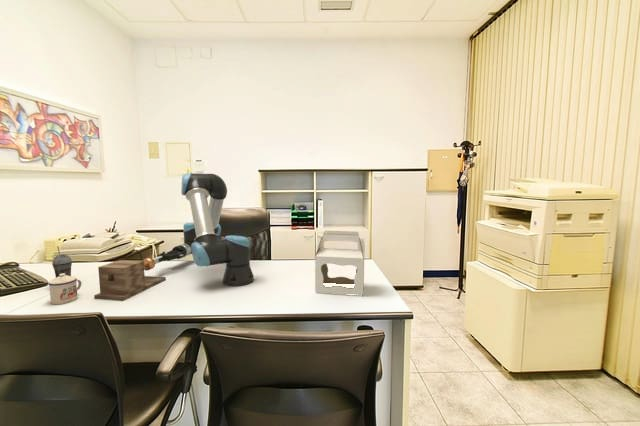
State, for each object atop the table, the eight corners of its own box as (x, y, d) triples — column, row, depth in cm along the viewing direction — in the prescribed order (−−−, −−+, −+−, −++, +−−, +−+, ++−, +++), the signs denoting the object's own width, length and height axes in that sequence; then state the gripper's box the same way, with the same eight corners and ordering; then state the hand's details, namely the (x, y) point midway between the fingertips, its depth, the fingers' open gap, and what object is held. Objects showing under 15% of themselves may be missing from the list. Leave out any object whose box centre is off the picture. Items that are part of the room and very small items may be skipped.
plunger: (144, 268, 150) (144, 257, 150) (155, 269, 149) (154, 257, 149) (108, 283, 129) (107, 269, 129) (120, 283, 128) (119, 270, 128)
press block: (141, 278, 154) (139, 253, 152) (165, 280, 151) (164, 254, 150) (94, 298, 127) (92, 268, 126) (123, 300, 125) (120, 269, 123)
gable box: (314, 293, 135) (314, 232, 132) (319, 283, 148) (319, 228, 145) (363, 296, 131) (364, 234, 128) (364, 286, 144) (365, 229, 141)
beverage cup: (77, 285, 143) (74, 244, 141) (59, 290, 137) (55, 247, 135) (69, 282, 146) (65, 243, 144) (51, 287, 140) (47, 246, 138)
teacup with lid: (62, 305, 120) (59, 278, 118) (44, 303, 122) (41, 276, 120) (90, 294, 131) (88, 269, 130) (73, 293, 133) (71, 268, 132)
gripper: (191, 257, 175) (164, 269, 152) (171, 257, 177) (142, 268, 154) (190, 245, 174) (163, 255, 151) (171, 244, 176) (141, 254, 153)
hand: (152, 261), depth 153 cm, fingers closed
